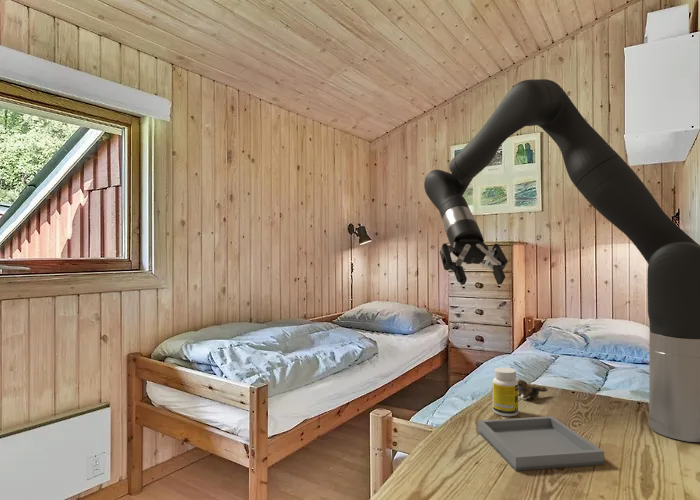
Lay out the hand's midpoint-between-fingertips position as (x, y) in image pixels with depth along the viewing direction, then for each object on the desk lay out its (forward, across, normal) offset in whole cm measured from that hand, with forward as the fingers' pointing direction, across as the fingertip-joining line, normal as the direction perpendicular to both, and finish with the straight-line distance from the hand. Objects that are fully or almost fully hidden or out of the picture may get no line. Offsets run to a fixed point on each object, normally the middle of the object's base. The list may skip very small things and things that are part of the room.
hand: (482, 282), depth 98 cm
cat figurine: (+20, +10, +16) cm, 27 cm away
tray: (+34, -2, 0) cm, 34 cm away
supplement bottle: (+24, 0, +11) cm, 27 cm away
